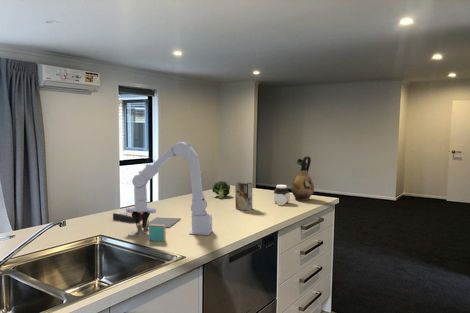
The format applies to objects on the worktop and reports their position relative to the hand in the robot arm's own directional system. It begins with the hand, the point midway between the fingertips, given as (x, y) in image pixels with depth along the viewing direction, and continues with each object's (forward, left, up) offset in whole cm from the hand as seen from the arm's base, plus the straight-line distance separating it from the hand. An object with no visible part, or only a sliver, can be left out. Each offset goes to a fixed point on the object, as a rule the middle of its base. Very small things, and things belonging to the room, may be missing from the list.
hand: (141, 227), depth 175 cm
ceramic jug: (-77, -92, -2) cm, 120 cm away
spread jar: (-63, -76, -2) cm, 99 cm away
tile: (-13, +12, -2) cm, 18 cm away
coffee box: (-41, -57, -2) cm, 70 cm away
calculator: (+17, -23, -3) cm, 29 cm away
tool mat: (-4, -17, -2) cm, 18 cm away
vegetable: (-19, -94, -2) cm, 96 cm away
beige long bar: (0, +1, -2) cm, 2 cm away
